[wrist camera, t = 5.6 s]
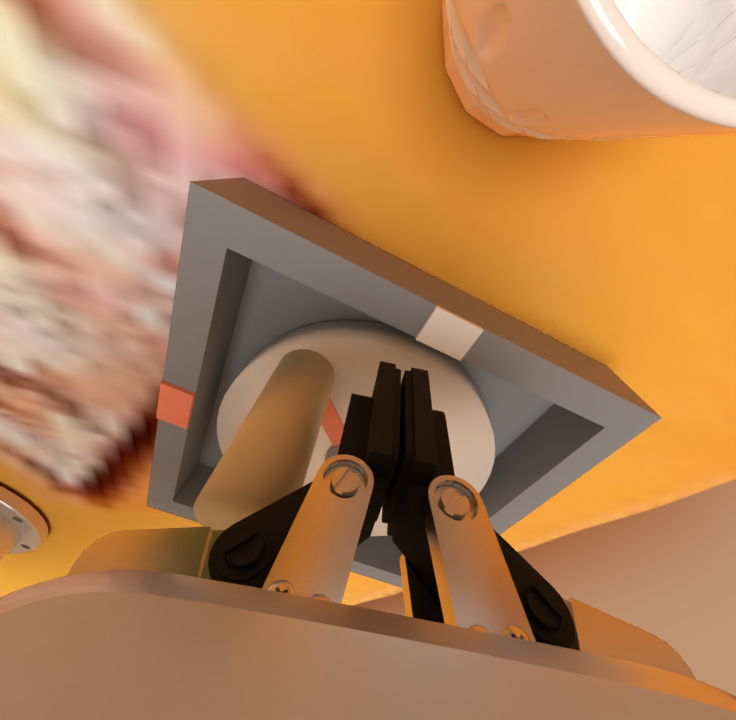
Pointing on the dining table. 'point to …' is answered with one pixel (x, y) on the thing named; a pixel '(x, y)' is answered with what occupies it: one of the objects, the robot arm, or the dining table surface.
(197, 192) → the dial housing
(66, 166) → the dining table surface
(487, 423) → the dial
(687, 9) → the white cup
